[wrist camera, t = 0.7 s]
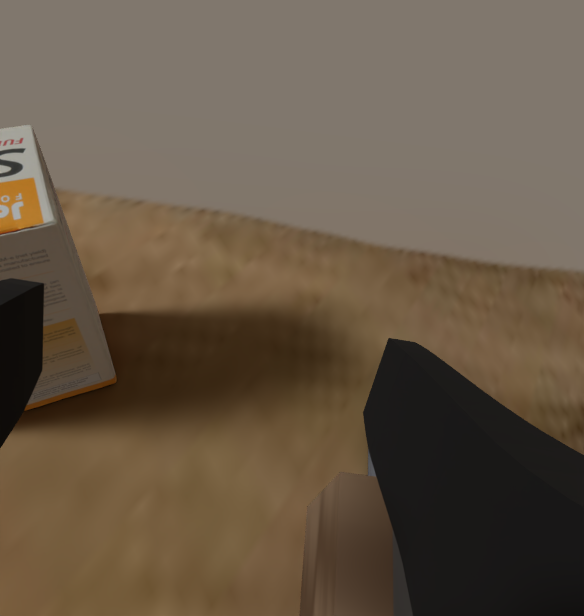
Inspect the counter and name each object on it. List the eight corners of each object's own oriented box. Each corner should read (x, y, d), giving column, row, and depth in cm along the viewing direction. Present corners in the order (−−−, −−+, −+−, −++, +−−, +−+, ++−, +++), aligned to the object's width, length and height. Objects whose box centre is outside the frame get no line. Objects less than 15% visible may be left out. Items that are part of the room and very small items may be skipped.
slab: (342, 659, 22) (394, 672, 17) (296, 654, 22) (332, 666, 16) (347, 511, 26) (392, 478, 20) (307, 506, 25) (340, 471, 20)
